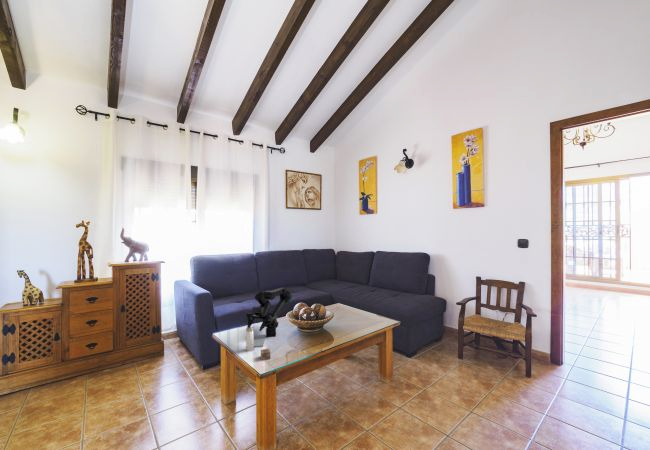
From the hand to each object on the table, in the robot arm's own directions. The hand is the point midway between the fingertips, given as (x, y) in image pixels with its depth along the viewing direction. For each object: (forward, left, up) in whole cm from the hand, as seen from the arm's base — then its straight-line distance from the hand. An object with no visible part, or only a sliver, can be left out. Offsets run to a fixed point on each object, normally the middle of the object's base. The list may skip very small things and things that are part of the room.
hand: (253, 330), depth 177 cm
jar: (+2, +4, -11) cm, 11 cm away
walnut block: (-9, +16, -11) cm, 21 cm away
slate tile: (-1, -4, -11) cm, 12 cm away
